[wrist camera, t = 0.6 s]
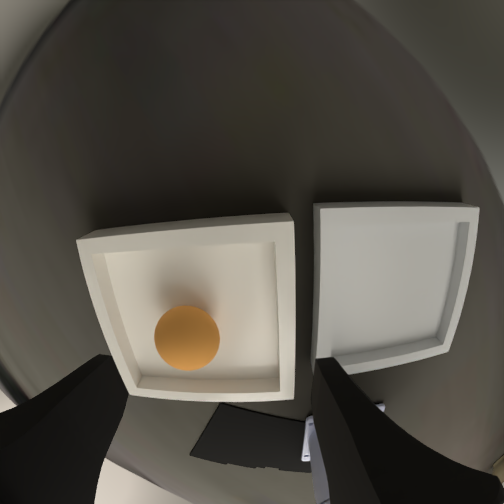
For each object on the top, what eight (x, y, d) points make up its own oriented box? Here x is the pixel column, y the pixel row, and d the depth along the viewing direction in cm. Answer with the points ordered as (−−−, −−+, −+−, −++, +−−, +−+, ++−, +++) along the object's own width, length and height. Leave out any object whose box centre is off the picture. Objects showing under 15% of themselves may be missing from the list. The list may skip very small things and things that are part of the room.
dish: (290, 376, 20) (293, 399, 18) (139, 375, 21) (129, 394, 18) (288, 212, 16) (293, 221, 14) (95, 230, 17) (75, 239, 14)
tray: (437, 339, 19) (448, 351, 17) (310, 361, 20) (314, 379, 18) (462, 202, 15) (479, 207, 14) (313, 203, 16) (320, 208, 14)
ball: (226, 344, 18) (220, 385, 14) (171, 344, 18) (155, 381, 14) (219, 292, 17) (209, 329, 13) (159, 294, 17) (136, 328, 13)
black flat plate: (220, 403, 21) (436, 430, 24) (221, 399, 22) (434, 427, 25) (189, 455, 25) (382, 474, 28) (190, 452, 26) (381, 471, 28)
